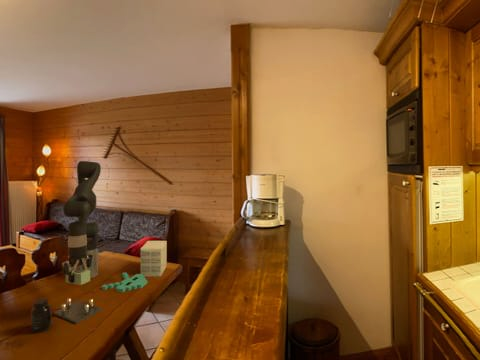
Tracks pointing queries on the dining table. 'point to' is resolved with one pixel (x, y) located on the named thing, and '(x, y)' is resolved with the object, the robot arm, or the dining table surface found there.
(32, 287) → the dining table surface
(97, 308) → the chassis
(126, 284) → the alien figure
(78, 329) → the dining table surface
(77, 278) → the block
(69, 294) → the dining table surface
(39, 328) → the supplement bottle
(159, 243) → the supplement box
